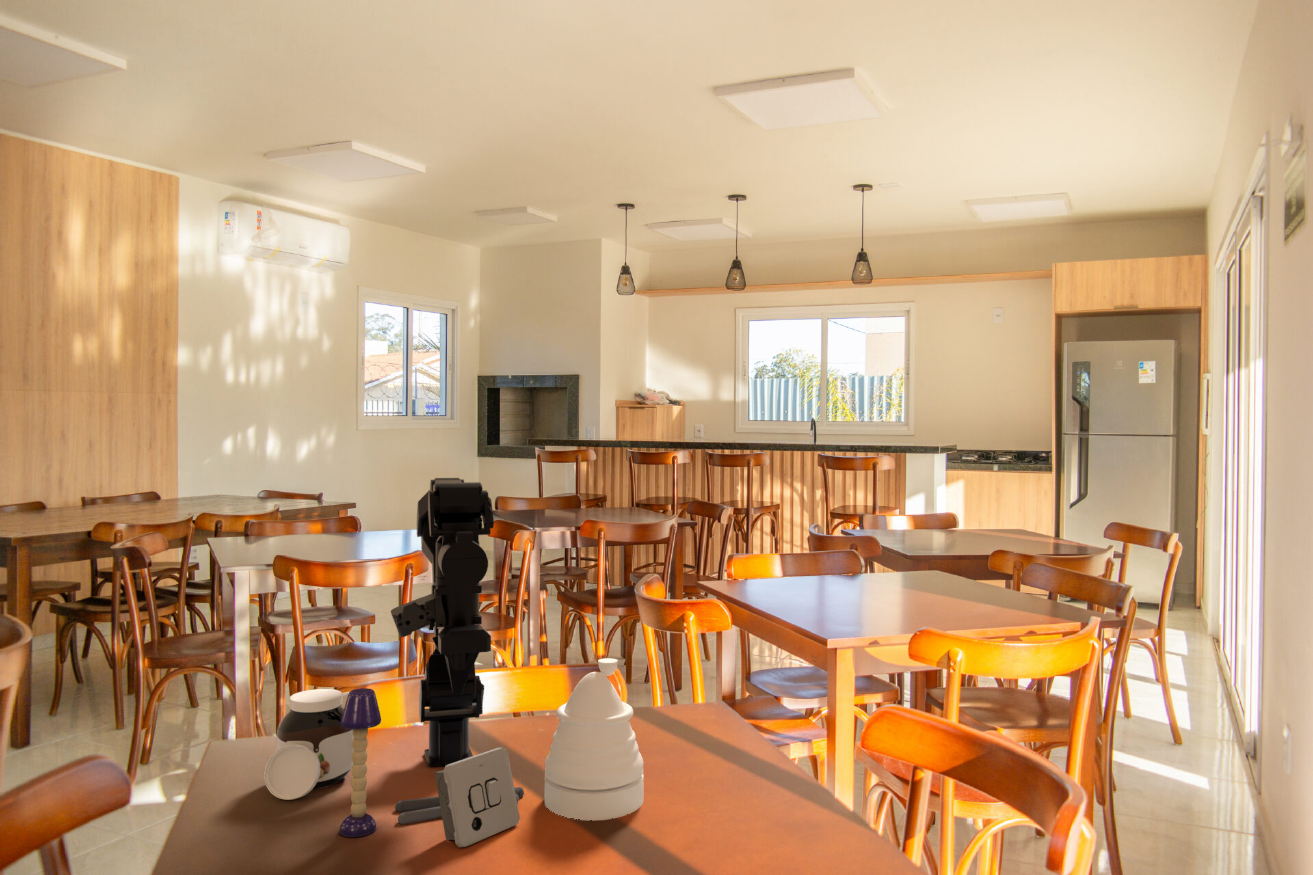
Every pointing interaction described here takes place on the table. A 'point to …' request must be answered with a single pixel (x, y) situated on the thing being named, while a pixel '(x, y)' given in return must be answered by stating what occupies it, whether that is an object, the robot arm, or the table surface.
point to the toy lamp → (359, 758)
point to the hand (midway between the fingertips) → (457, 693)
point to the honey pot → (594, 753)
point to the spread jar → (310, 746)
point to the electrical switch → (477, 797)
